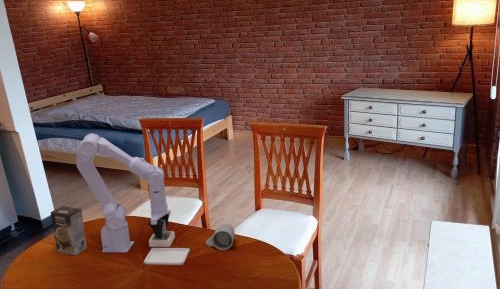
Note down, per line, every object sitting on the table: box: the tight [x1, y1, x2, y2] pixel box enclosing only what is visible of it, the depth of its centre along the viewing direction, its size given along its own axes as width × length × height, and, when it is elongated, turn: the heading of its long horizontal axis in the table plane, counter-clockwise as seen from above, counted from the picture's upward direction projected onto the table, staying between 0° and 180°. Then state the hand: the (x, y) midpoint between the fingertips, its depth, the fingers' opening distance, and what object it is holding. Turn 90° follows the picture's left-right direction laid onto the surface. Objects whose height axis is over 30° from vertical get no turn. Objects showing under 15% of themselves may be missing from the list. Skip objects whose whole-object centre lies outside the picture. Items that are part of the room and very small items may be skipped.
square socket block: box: [148, 230, 176, 248], centre depth 168 cm, size 8×8×3 cm
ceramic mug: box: [205, 223, 236, 251], centre depth 165 cm, size 11×8×8 cm
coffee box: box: [50, 205, 88, 256], centre depth 164 cm, size 9×6×16 cm
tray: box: [142, 247, 191, 266], centre depth 158 cm, size 14×10×1 cm
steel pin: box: [157, 218, 167, 240], centre depth 167 cm, size 4×4×9 cm
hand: (161, 233), depth 168 cm, fingers open, 6 cm apart
